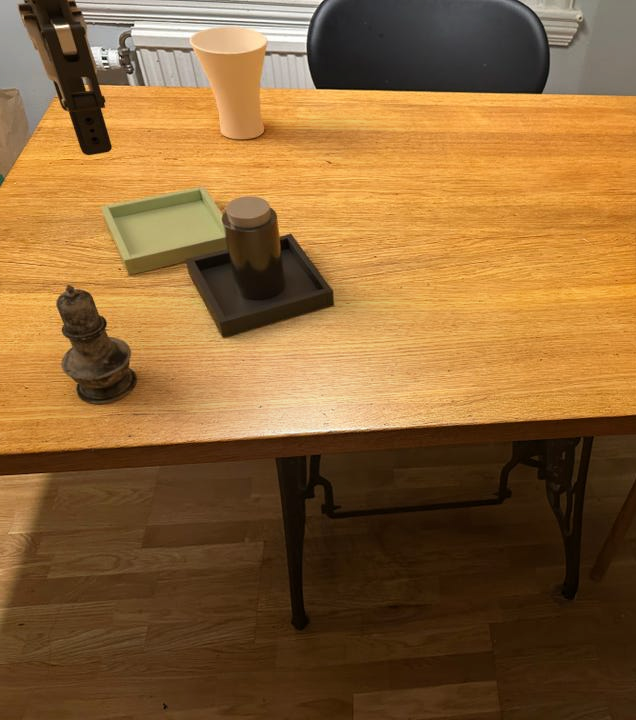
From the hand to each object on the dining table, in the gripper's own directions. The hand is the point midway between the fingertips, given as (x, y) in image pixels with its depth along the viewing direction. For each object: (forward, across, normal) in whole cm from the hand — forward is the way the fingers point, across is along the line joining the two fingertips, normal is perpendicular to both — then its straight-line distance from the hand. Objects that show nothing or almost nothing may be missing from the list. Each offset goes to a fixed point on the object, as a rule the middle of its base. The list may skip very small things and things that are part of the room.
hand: (86, 129), depth 58 cm
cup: (+22, -40, +24) cm, 52 cm away
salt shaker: (+22, +6, -5) cm, 24 cm away
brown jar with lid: (+22, -2, +13) cm, 25 cm away
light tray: (+22, -16, +7) cm, 28 cm away
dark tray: (+22, -2, +13) cm, 25 cm away
